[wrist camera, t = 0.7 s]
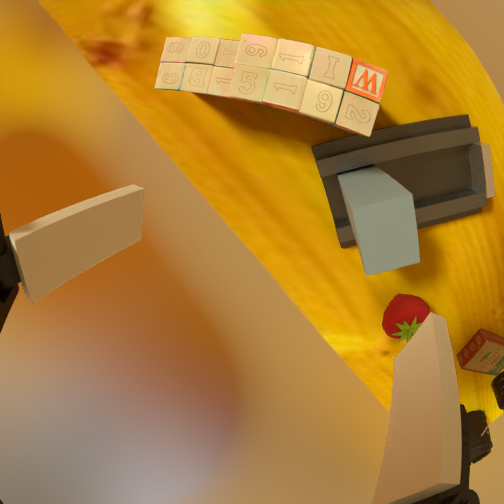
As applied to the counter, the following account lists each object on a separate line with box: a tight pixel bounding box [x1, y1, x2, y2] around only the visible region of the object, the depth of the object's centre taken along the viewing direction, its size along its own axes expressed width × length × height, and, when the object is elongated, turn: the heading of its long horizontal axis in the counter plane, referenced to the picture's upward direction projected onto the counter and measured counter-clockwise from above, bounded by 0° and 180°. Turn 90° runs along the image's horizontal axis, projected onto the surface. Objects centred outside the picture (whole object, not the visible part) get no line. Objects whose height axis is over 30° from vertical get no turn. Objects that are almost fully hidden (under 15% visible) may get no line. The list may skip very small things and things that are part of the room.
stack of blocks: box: [155, 34, 388, 137], centre depth 23 cm, size 21×6×12 cm, turn 76°
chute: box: [311, 114, 495, 248], centre depth 28 cm, size 14×23×5 cm, turn 111°
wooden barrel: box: [467, 410, 493, 465], centre depth 45 cm, size 18×18×16 cm
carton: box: [457, 328, 504, 376], centre depth 37 cm, size 8×16×4 cm, turn 73°
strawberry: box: [382, 294, 430, 343], centre depth 33 cm, size 6×8×10 cm
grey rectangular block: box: [337, 164, 420, 276], centre depth 25 cm, size 6×5×14 cm
